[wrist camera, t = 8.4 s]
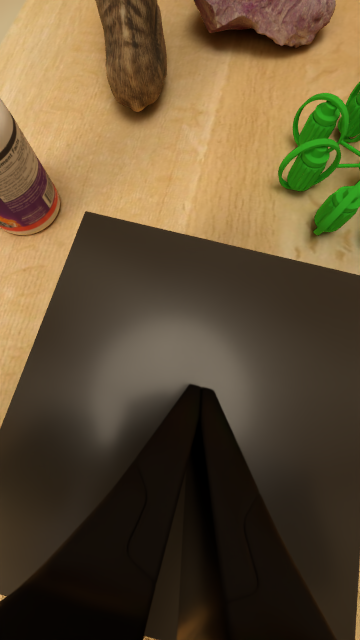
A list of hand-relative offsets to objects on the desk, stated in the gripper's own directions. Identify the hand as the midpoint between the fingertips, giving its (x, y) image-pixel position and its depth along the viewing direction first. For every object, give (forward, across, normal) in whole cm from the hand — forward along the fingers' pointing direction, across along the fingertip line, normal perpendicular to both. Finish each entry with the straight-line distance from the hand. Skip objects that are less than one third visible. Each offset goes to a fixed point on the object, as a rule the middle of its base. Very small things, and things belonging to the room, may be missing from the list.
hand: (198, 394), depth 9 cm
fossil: (+32, +1, -19) cm, 37 cm away
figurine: (+26, +12, -13) cm, 32 cm away
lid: (+1, 0, +2) cm, 2 cm away
